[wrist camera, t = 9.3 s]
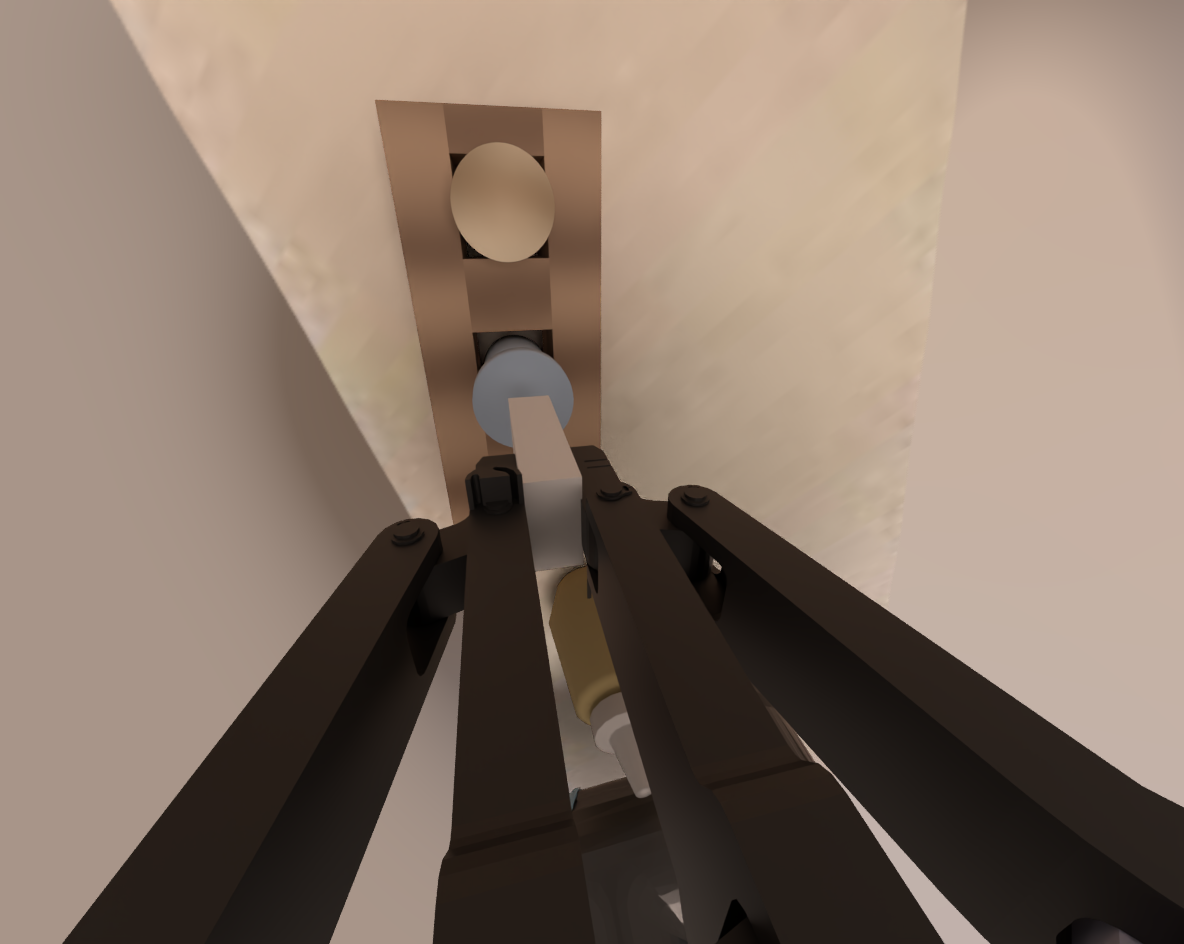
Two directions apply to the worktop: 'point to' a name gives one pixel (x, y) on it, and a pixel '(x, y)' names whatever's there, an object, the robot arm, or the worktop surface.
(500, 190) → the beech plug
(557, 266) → the walnut block
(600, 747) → the squeeze bottle
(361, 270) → the worktop surface
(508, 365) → the slate plug
